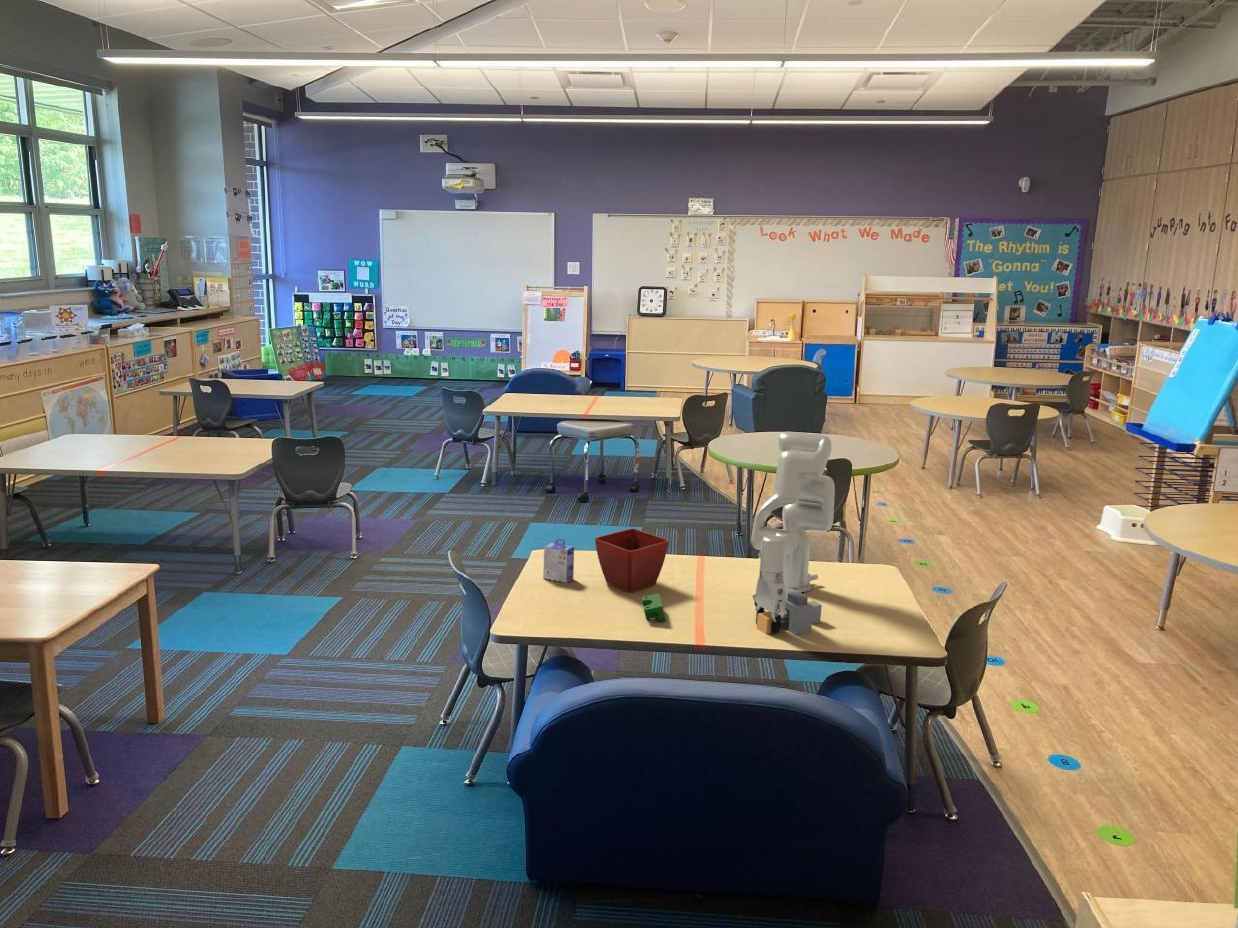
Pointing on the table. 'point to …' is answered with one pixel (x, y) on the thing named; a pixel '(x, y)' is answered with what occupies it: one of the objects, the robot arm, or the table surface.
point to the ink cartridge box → (558, 562)
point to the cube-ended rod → (766, 619)
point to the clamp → (653, 607)
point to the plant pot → (631, 558)
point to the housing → (798, 613)
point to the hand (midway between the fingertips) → (767, 627)
